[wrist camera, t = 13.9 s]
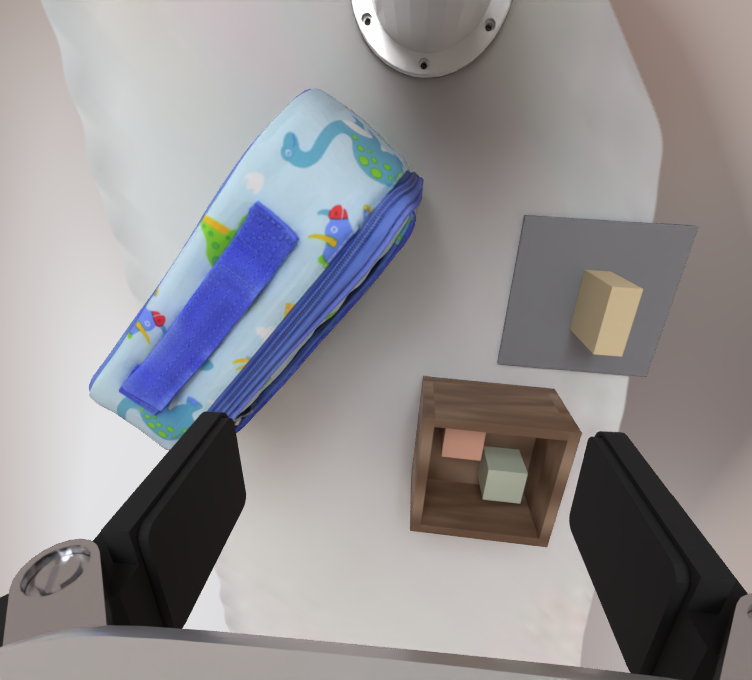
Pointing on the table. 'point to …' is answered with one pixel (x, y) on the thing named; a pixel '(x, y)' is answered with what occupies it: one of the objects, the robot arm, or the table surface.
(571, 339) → the lid
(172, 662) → the robot arm
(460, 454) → the terracotta block
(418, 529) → the walnut box
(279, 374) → the lunch box
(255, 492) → the table surface
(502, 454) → the sage block
